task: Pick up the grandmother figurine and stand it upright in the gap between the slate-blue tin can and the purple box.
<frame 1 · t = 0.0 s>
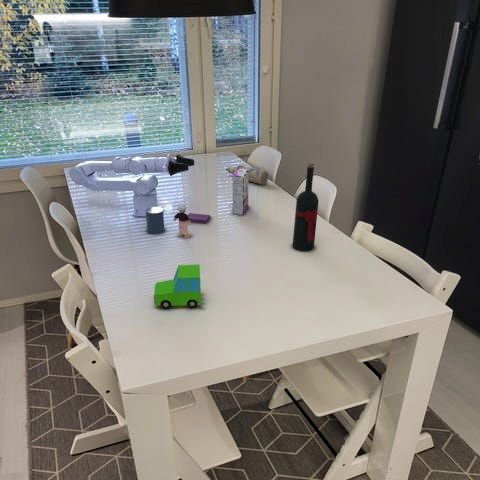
hand: (191, 164, 188), 22 cm above the table, tool horizontal, fingers open, 7 cm apart
wine bottle: (304, 248, 176), on the table
toy car: (178, 302, 141), on the table
grandmother figurine: (183, 236, 183), on the table
tin can: (155, 231, 187), on the table
candy bar box: (240, 211, 208), on the table
decorative bottle: (247, 179, 248), on the table
purple box: (197, 219, 198), on the table
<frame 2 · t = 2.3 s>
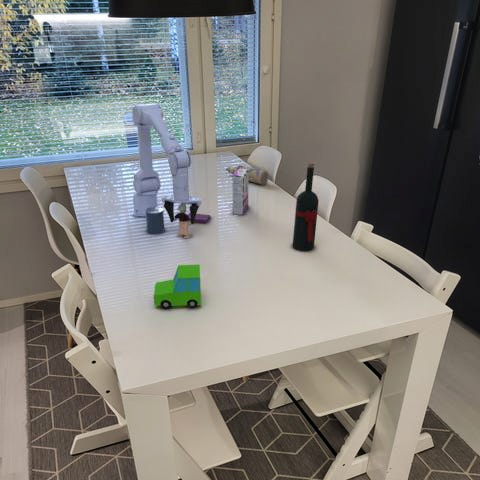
hand: (182, 222, 180), 5 cm above the table, tool pointing down
grandmother figurine: (183, 236, 184), on the table, touching gripper
everything else where it was.
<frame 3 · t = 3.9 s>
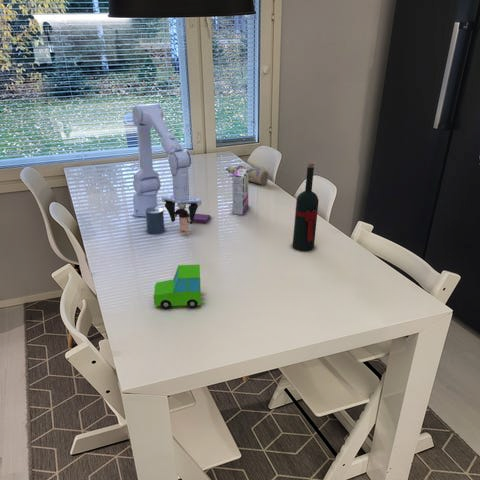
hand: (182, 222, 180), 6 cm above the table, tool pointing down, fingers closed on grandmother figurine, 6 cm apart
grandmother figurine: (184, 232, 182), point 1 cm above the table, touching gripper
everything else where it was.
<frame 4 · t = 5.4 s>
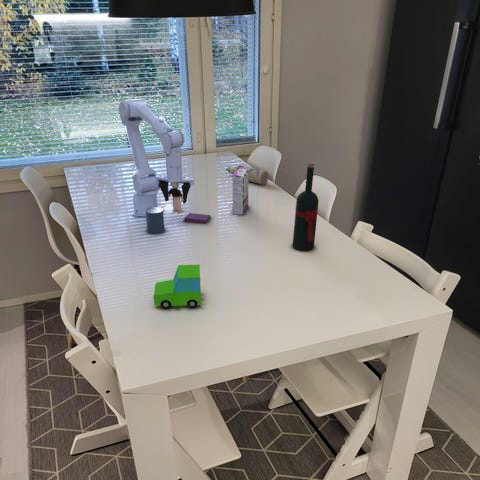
hand: (175, 201, 185), 10 cm above the table, tool pointing down, fingers closed on grandmother figurine, 6 cm apart
grandmother figurine: (177, 211, 187), point 6 cm above the table, touching gripper
everything else where it was.
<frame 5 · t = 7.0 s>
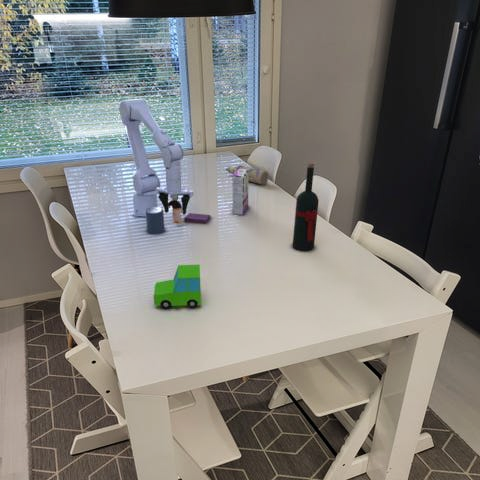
hand: (175, 212, 189), 5 cm above the table, tool pointing down, fingers closed on grandmother figurine, 6 cm apart
grandmother figurine: (177, 222, 191), point 1 cm above the table, touching gripper
everything else where it was.
when the fingers open (4 cm above the table, at t = 8.1 s): grandmother figurine stays where it is, on the table.
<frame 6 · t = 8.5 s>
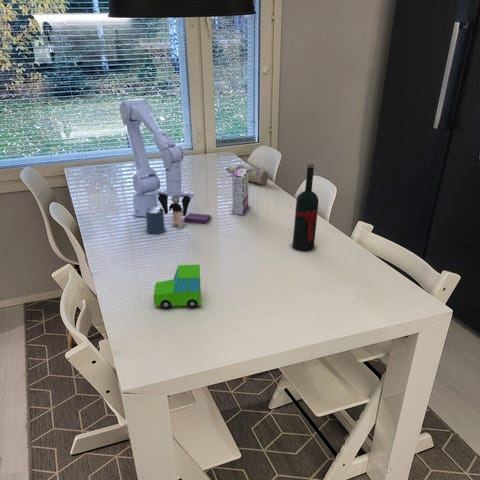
hand: (175, 214, 190), 5 cm above the table, tool pointing down, fingers open, 7 cm apart
grandmother figurine: (177, 226, 192), on the table
everything else where it was.
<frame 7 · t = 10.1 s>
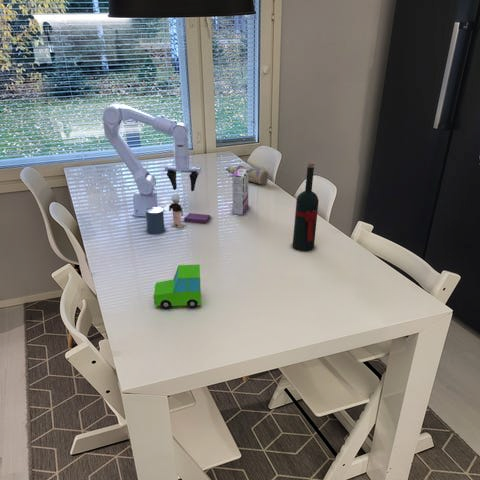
hand: (183, 189, 198), 10 cm above the table, tool pointing down, fingers open, 7 cm apart
nothing on the table moved.
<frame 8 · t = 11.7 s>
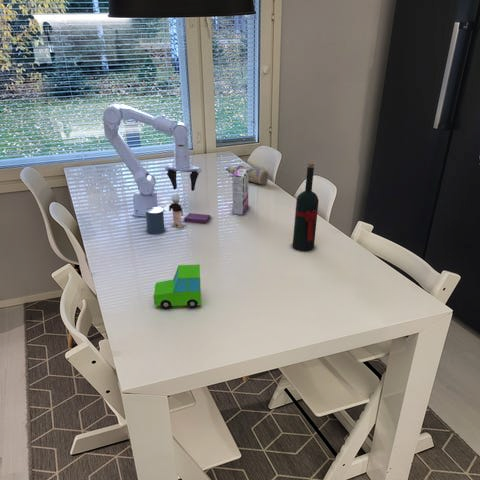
hand: (184, 189, 198), 10 cm above the table, tool pointing down, fingers open, 7 cm apart
nothing on the table moved.
at the end: grandmother figurine 0.5 cm from the target spot, on the table; grandmother figurine tilted 0°; tin can moved 0.0 cm from its start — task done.
